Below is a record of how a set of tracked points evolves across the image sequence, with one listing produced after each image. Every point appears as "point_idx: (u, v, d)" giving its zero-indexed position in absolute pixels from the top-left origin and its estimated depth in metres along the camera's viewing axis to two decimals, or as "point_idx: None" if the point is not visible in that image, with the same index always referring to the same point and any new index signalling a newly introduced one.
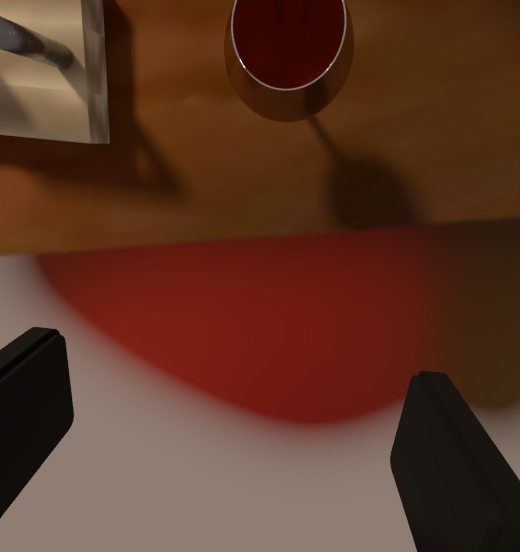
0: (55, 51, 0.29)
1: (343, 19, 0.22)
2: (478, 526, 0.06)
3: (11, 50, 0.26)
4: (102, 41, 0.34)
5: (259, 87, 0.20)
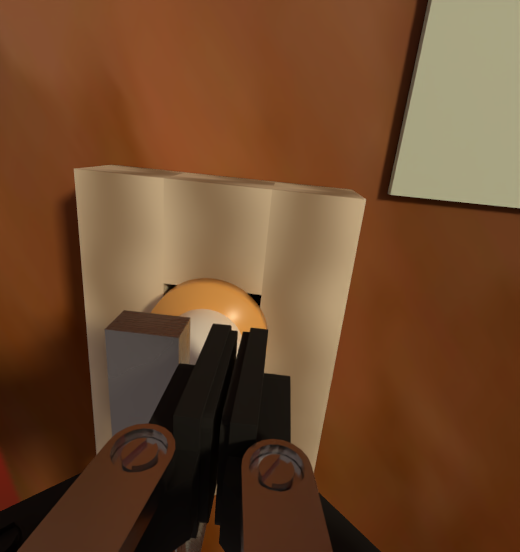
0: None
1: None
2: None
3: None
4: None
5: None
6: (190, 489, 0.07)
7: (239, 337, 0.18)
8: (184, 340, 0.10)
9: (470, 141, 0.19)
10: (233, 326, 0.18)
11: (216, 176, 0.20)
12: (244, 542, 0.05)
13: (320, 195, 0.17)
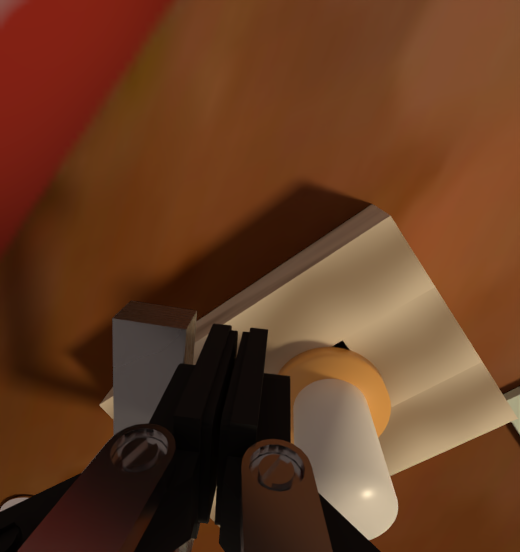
0: None
1: None
2: None
3: None
4: None
5: None
6: (190, 489, 0.07)
7: None
8: (190, 332, 0.10)
9: None
10: None
11: None
12: (244, 542, 0.05)
13: (500, 391, 0.20)
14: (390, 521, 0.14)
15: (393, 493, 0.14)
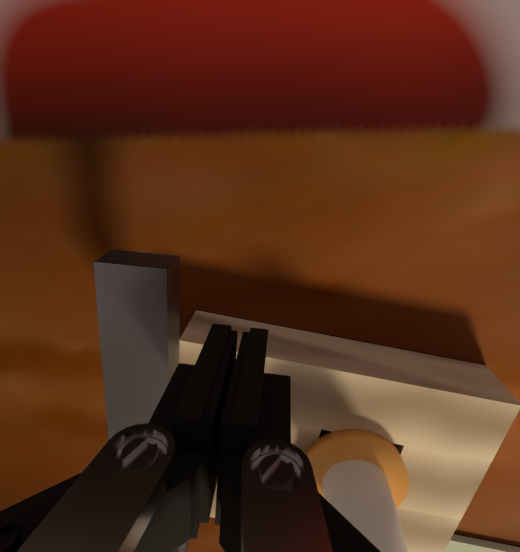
0: None
1: None
2: None
3: None
4: None
5: None
6: (190, 489, 0.07)
7: None
8: (173, 275, 0.10)
9: None
10: None
11: None
12: (244, 542, 0.05)
13: (447, 542, 0.25)
14: None
15: None
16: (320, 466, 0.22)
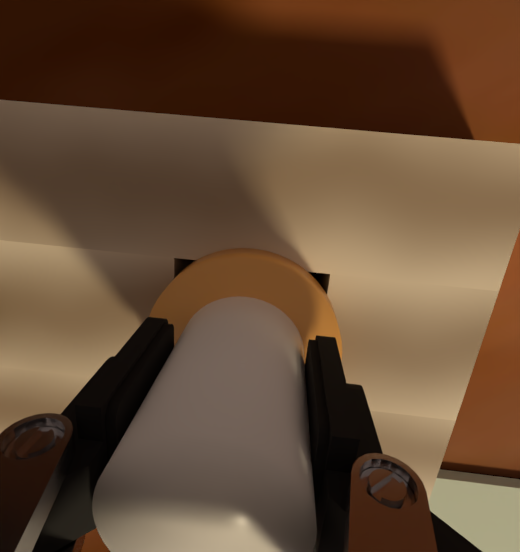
0: None
1: None
2: (315, 448, 0.07)
3: None
4: None
5: None
6: (89, 478, 0.07)
7: None
8: None
9: None
10: None
11: None
12: None
13: (438, 466, 0.14)
14: None
15: None
16: (170, 320, 0.12)
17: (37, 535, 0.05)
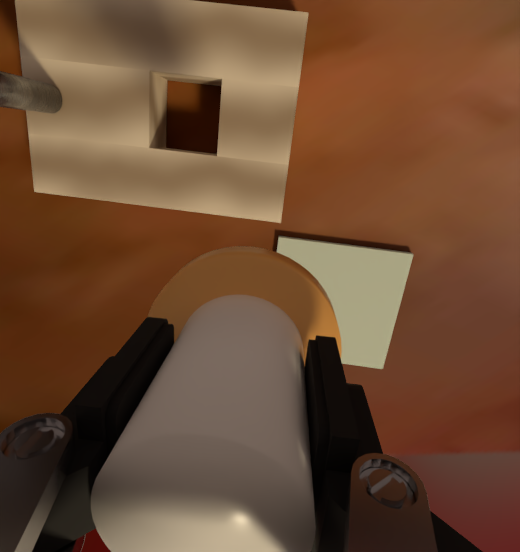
0: (28, 110, 0.25)
1: None
2: (315, 448, 0.07)
3: None
4: None
5: None
6: (88, 478, 0.07)
7: None
8: None
9: None
10: None
11: None
12: None
13: (283, 195, 0.28)
14: None
15: (308, 549, 0.06)
16: (169, 318, 0.12)
17: (37, 535, 0.05)
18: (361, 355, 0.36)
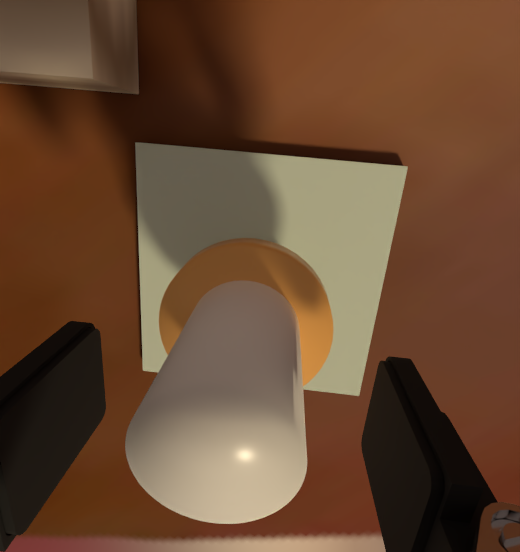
0: None
1: None
2: (424, 493, 0.06)
3: None
4: None
5: None
6: None
7: None
8: None
9: (201, 225, 0.17)
10: None
11: None
12: None
13: (87, 4, 0.12)
14: (259, 514, 0.08)
15: (301, 480, 0.08)
16: (181, 301, 0.13)
17: None
18: None
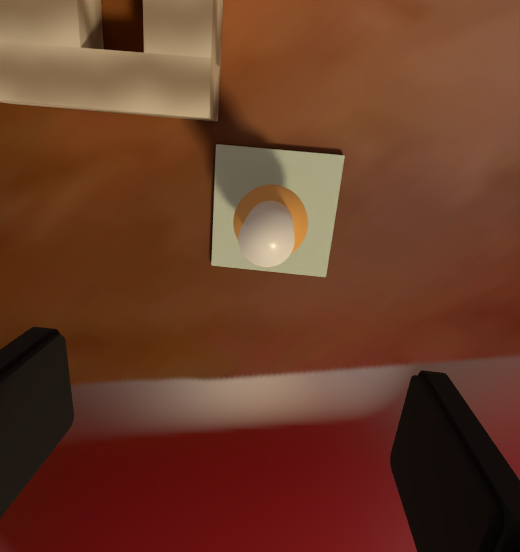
0: None
1: None
2: (478, 526, 0.06)
3: None
4: None
5: None
6: None
7: None
8: None
9: (246, 184, 0.35)
10: None
11: (221, 22, 0.31)
12: None
13: (209, 90, 0.29)
14: (279, 262, 0.26)
15: (292, 247, 0.26)
16: (243, 210, 0.31)
17: None
18: (304, 263, 0.37)
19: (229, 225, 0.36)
